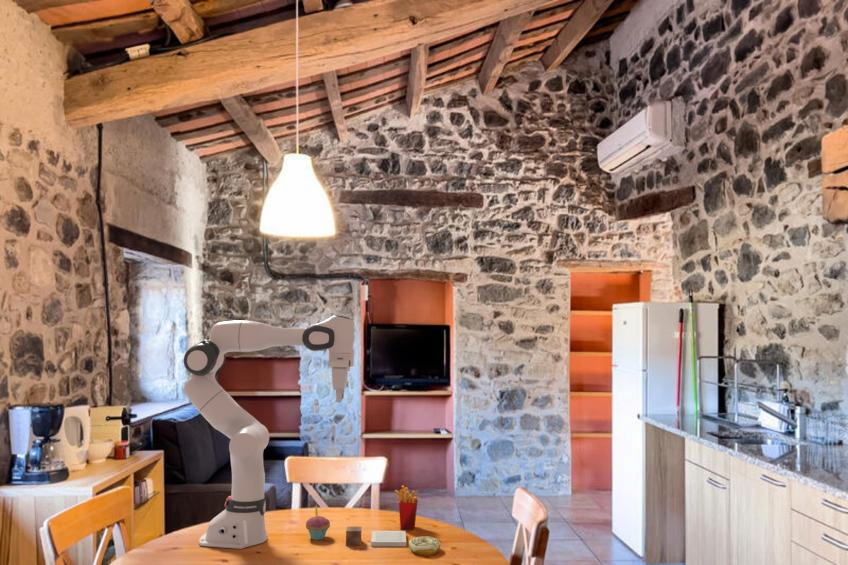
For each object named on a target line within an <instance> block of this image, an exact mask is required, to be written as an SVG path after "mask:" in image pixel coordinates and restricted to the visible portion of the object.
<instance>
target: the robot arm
mask: <svg viewBox="0 0 848 565" xmlns="http://www.w3.org/2000/svg"><path fill="white" fill-rule="evenodd" d="M354 342H355V324H354V321H353V320H352V318H350V317H349V316H343V315H339V314H334V315H332V316H331V317H329V318H326V319H325V320H323V321H320V322H318V323H314V324H311V325H308V327H304V328H303V327H302V328H300V327H299V328H297V327H296V328H295V327H291V328H290V327H279V326H275V325H271V324H268V323H263V322H260V321H255V320H226V321H219V322H216V323H215V324H214V325H212V327H211V329H210V331H209V339H204V340H202V341H200V342H197V343H196V344H194V345H192V346H191V347H190V348H188V349H187V350H186V352H185V354H184V356H183V366H184V368H185V370H186V371H188V372H189V373H190V374H191V375H190V377H189V378H188V379H187V380H186V381H185V383H184V386H183V391H184V394H185V396H186V398H188V400H189V402H190V403H191V404H192V406H193V407H194V408H195V409H196V410H197V412H198V413H199V414H200V415H201V416H202V417H203V418H204V419H205V420H206V421H207V422H208V424H210V425H211V427H213V428H214V429H215V430H217V431H218V432H220V433H222V434H223V435H224V436H226V437H227V438H229V439H230V441H229V443H228V444H229V445H228V450H229V454H230V455H229V456H230V467H231V495H228V497H226V499H225V501H224V502H225V503H224V510H222V511H221V512H220V513H219V514H217V515H216V516H214V517H213V518H212V519H211V520H210V522H209V523H208V525H207V528H206V532H205V533H203V534H202V535H201V536H200V537H199V539H198V545H199V546H200V547H201V546H202V547H211V548H212V547H214V548H223V549H224V548H225V549H226V548H227V549H245V548H247V547H252V546H256V545H260V544H262V543H264V542H266V541H267V540H268V535H267V530H266V523H265V522H266V520H265V514H266V505H267V503H266V502H267V501H266V496H265V490H266V489H265V488H266V487H265V485H266V484H265V482H266V473H265V467H264V450H265V449H266V448H267V446H268V444H269V441H270V433H269V429H268V428H267V427H266V426H265V425H264V424H262V423H261V422H260V421H259V420H258V419H256V418H255V417H254V416H253V415H252V414H250V413H249V412H248V411H247V410H246V409H245V408H243V407H242V406H241V405H239V403H238V402H236V400H234V398H233V397H232V396H231V395H230V394H229V393H228V392H227V391H226V390H225V389H224V388H223V387H222V385H220V383H219V382H218V380H217V379H216V377H217V376H218V375H219V374H220V371H221V369H222V368H223V366H224V364H225V362H226V354H227V353H230V352H231V353H235V352H239V353H249V352H250V353H251V352H258V351H262V350H267V349H268V348H269V349H270V348H274V347H277V346H304V347H305V348H306V349H308V350H309V351H311V352H323V351H326V350H327V351H328V367H329V368H331V381H332V382H331V383H332V388H333V390H335V396H336V400H335V401H336V403H342V401H343V400H344V395H345V390H346V389H345V388H346V387H347V385H348V377H349V376H348V375H349V374H348V373H349V372H350V370H351V367H354V366H355V365H354V364H355V352H354V344H355V343H354Z"/></svg>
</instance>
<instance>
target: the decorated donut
mask: <svg viewBox="0 0 848 565" xmlns="http://www.w3.org/2000/svg"><path fill="white" fill-rule="evenodd" d="M408 546H409V549H410V551H412V553H413V554H416V555H418V556H426V557H428V556H433V555H435V554H437V553H438V552H439V551H440V548H441V541H439V539H437V538H435V537H433V536H427V535H426V536H415V537H412V538H411V539H410V540H409V541H408Z"/></svg>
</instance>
